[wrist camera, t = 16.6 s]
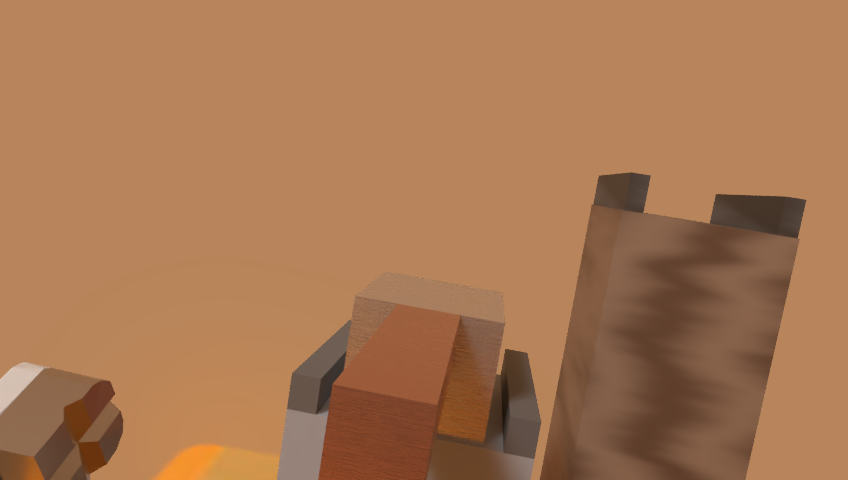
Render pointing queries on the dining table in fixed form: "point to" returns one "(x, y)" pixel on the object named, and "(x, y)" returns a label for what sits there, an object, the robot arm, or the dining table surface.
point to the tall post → (670, 337)
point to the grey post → (451, 459)
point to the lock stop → (411, 377)
